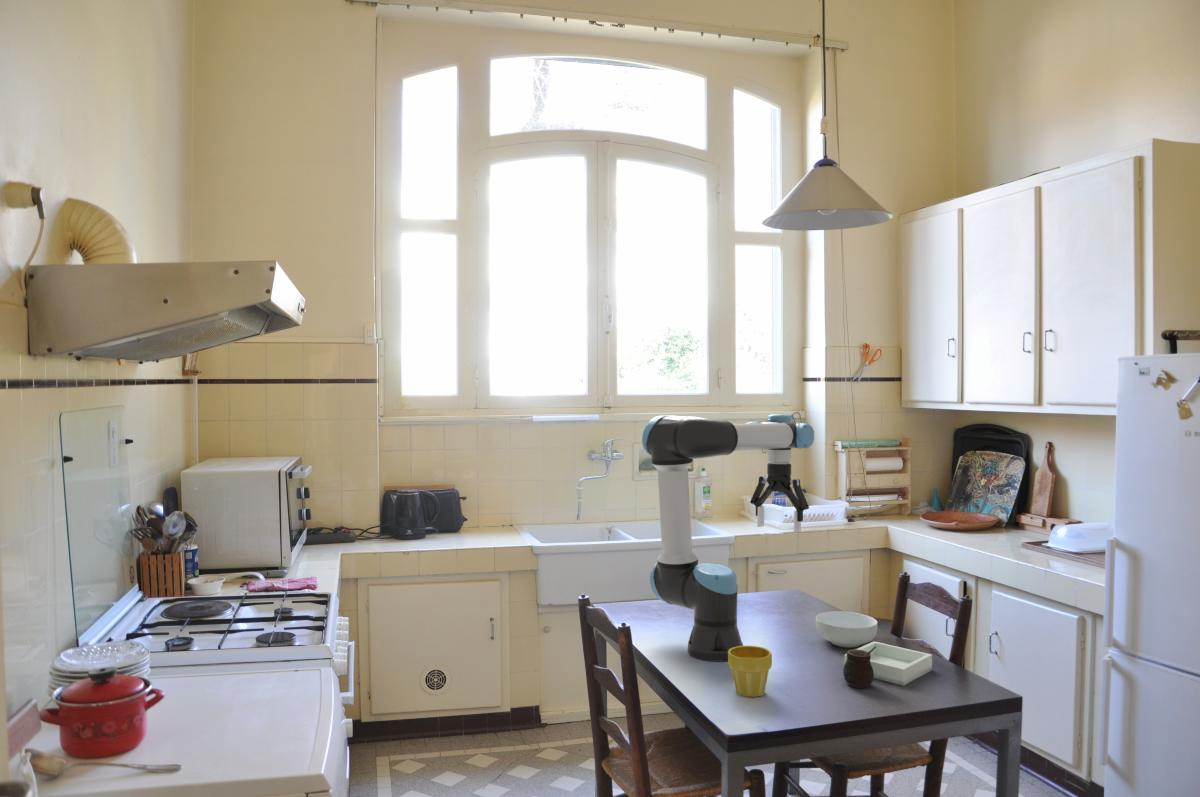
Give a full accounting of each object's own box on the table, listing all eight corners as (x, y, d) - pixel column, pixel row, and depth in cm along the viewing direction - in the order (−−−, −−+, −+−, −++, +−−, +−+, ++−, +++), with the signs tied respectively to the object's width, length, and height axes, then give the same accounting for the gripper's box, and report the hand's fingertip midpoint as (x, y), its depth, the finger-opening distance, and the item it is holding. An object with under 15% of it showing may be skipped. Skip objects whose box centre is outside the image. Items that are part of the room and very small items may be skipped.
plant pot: (718, 690, 205) (718, 650, 205) (748, 681, 211) (748, 642, 211) (751, 703, 197) (751, 661, 196) (780, 693, 203) (781, 652, 203)
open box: (903, 685, 208) (903, 669, 208) (843, 670, 219) (843, 654, 219) (932, 670, 219) (932, 654, 219) (873, 656, 231) (874, 641, 231)
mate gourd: (841, 678, 213) (841, 639, 213) (872, 681, 212) (873, 641, 212) (844, 689, 206) (845, 647, 206) (876, 691, 205) (877, 649, 204)
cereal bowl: (837, 655, 231) (837, 629, 231) (804, 638, 247) (804, 613, 247) (890, 649, 237) (890, 623, 237) (854, 632, 253) (854, 608, 252)
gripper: (820, 464, 267) (819, 532, 267) (753, 459, 284) (752, 523, 285) (807, 466, 262) (807, 535, 262) (740, 460, 279) (739, 525, 279)
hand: (778, 529), depth 273 cm, fingers open, 13 cm apart
